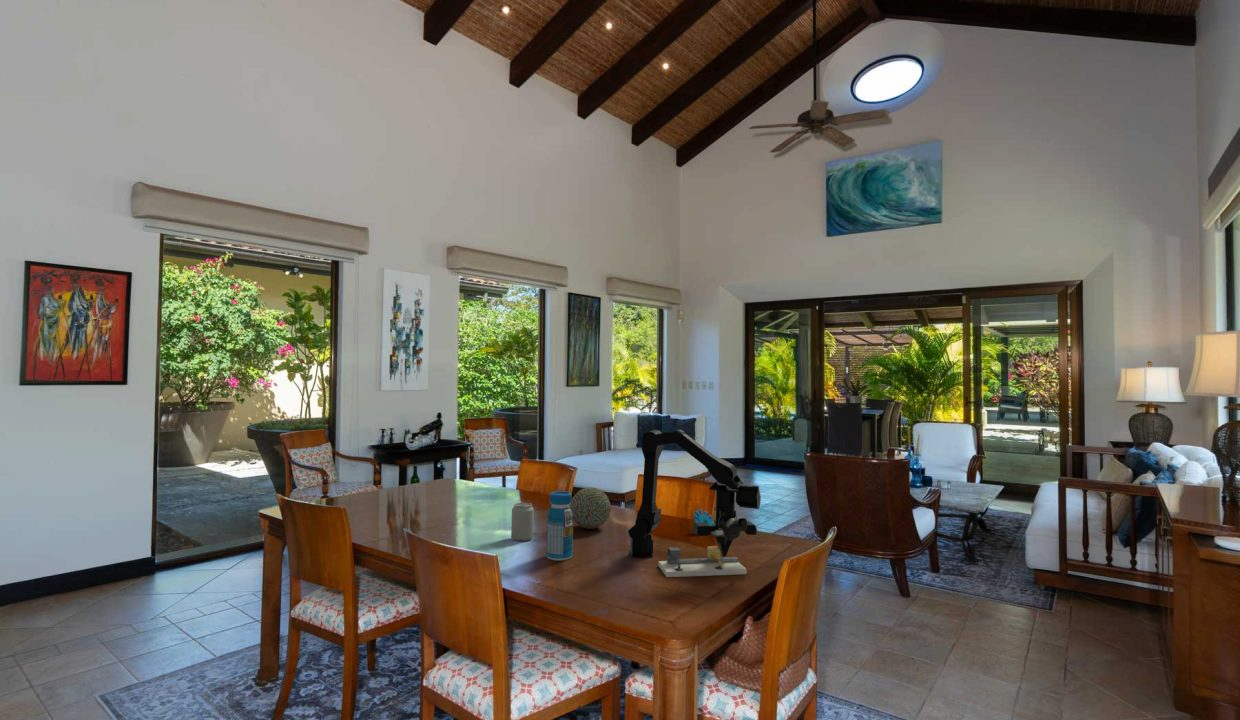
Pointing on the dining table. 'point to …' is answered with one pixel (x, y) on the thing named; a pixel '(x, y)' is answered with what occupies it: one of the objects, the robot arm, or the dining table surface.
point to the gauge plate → (701, 569)
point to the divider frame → (675, 559)
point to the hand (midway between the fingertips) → (723, 556)
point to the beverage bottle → (560, 527)
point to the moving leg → (714, 554)
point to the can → (522, 521)
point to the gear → (703, 517)
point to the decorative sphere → (590, 508)
